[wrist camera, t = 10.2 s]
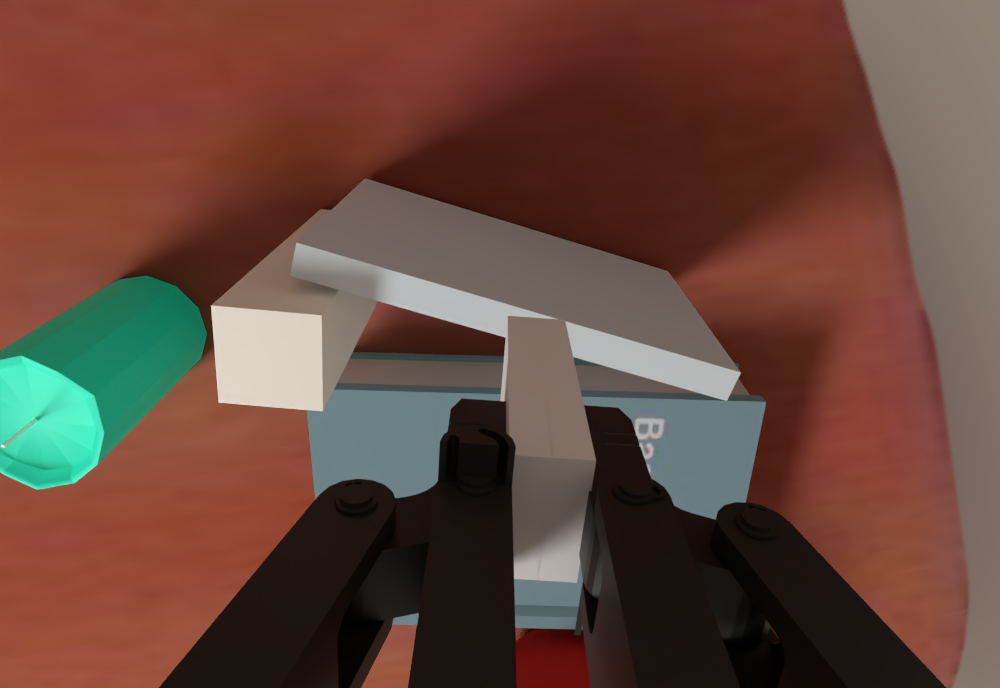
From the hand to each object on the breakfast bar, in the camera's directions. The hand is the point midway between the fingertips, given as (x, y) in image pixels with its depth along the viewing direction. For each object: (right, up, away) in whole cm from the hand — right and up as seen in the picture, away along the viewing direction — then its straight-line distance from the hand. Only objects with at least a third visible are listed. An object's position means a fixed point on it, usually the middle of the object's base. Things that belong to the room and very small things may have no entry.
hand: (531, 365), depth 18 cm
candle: (-20, +2, +19) cm, 28 cm away
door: (0, +5, +17) cm, 18 cm away
